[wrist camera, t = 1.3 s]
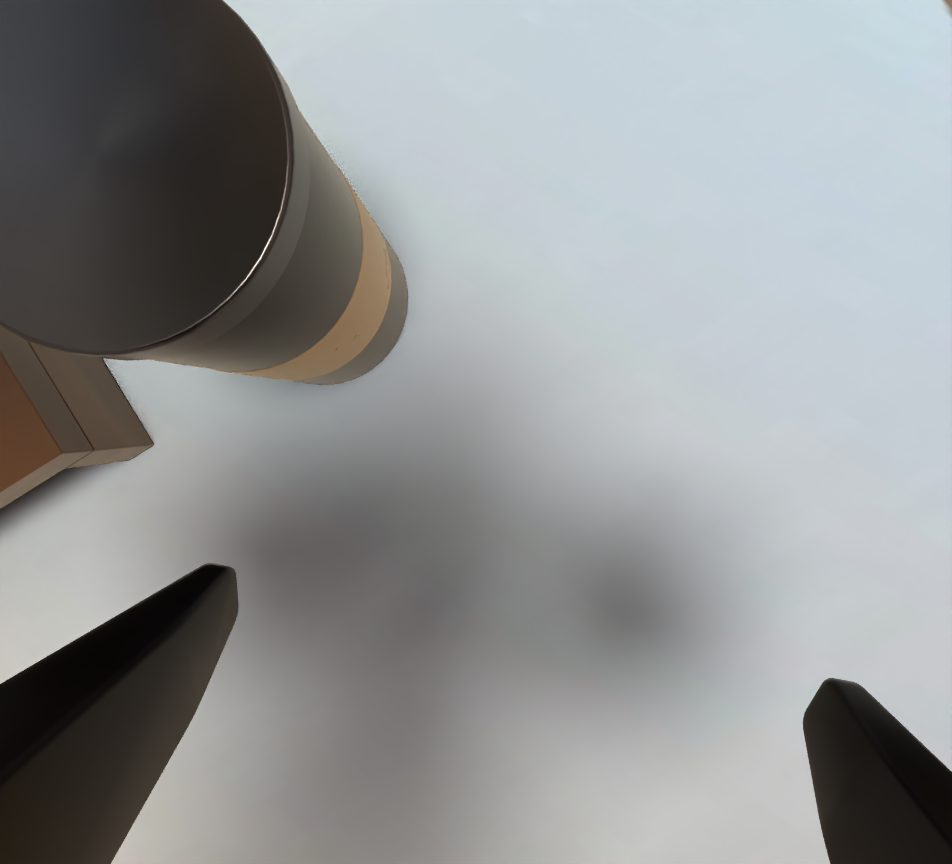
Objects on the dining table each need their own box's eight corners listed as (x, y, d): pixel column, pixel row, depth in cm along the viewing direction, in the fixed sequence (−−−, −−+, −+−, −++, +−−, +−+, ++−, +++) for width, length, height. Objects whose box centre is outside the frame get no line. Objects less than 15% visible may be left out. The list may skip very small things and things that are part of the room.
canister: (352, 420, 23) (163, 430, 10) (204, 328, 23) (-165, 224, 10) (444, 269, 23) (368, 84, 10) (293, 176, 23) (28, -124, 10)
